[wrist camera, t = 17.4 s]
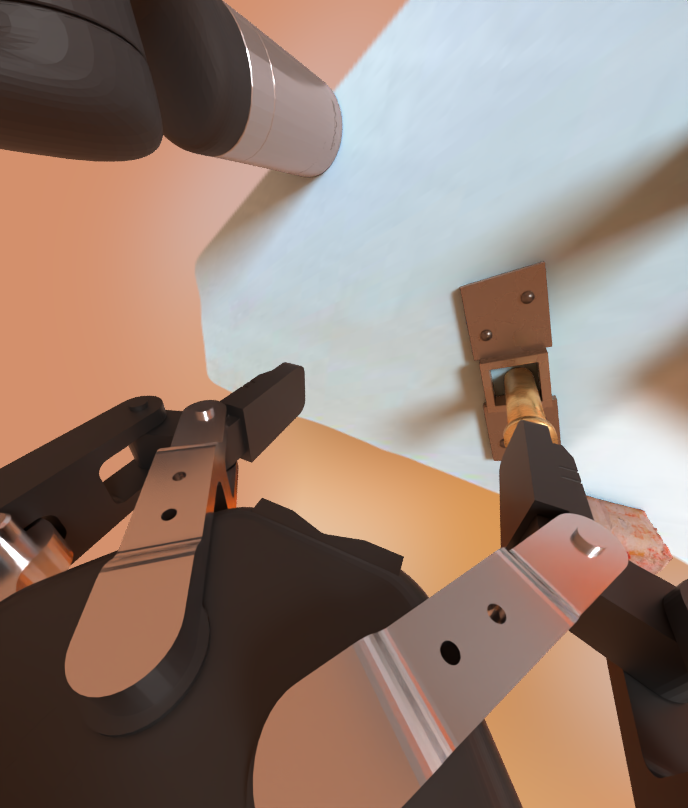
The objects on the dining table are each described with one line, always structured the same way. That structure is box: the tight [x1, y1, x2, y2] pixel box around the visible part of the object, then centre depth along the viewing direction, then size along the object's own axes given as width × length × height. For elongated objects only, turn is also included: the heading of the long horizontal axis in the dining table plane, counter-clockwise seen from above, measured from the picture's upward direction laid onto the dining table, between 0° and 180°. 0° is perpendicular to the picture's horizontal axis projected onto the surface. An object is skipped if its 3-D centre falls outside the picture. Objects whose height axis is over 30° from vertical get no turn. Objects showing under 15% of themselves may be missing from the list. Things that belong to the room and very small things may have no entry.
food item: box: [586, 496, 673, 575], centre depth 43 cm, size 14×8×10 cm, turn 89°
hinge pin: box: [503, 367, 558, 448], centre depth 36 cm, size 5×5×15 cm
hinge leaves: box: [460, 261, 561, 461], centre depth 41 cm, size 28×9×3 cm, turn 21°
